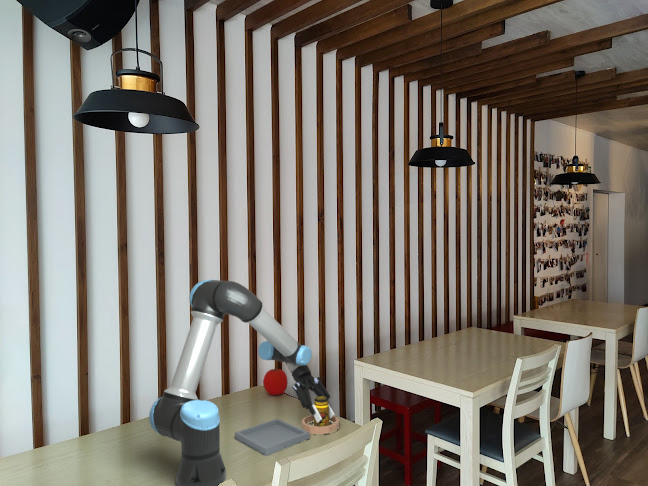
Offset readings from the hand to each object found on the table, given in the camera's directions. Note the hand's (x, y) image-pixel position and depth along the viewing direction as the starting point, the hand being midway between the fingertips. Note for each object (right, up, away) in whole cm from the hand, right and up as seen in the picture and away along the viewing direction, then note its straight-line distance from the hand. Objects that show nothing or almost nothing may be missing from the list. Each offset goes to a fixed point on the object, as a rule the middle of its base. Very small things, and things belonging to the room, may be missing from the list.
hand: (326, 418), depth 188 cm
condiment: (-2, -5, +3) cm, 6 cm away
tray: (-20, -5, -7) cm, 22 cm away
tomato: (-24, -5, +45) cm, 51 cm away
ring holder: (-2, -5, +3) cm, 6 cm away
